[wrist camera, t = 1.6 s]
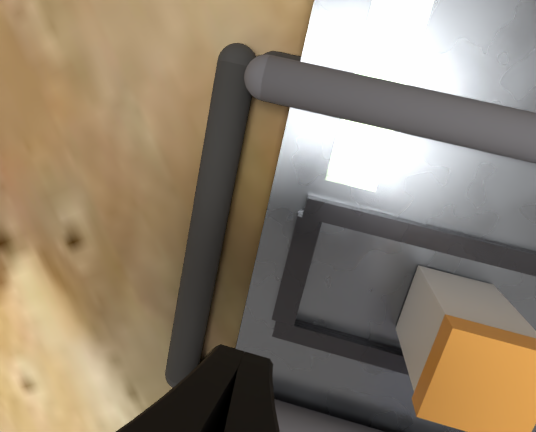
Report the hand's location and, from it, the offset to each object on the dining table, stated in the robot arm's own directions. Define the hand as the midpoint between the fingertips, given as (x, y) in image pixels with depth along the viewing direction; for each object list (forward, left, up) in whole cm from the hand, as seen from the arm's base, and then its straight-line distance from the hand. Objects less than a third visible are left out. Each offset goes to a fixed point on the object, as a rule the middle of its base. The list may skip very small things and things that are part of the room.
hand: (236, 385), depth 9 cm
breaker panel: (0, -7, -9) cm, 12 cm away
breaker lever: (0, -7, -8) cm, 10 cm away
